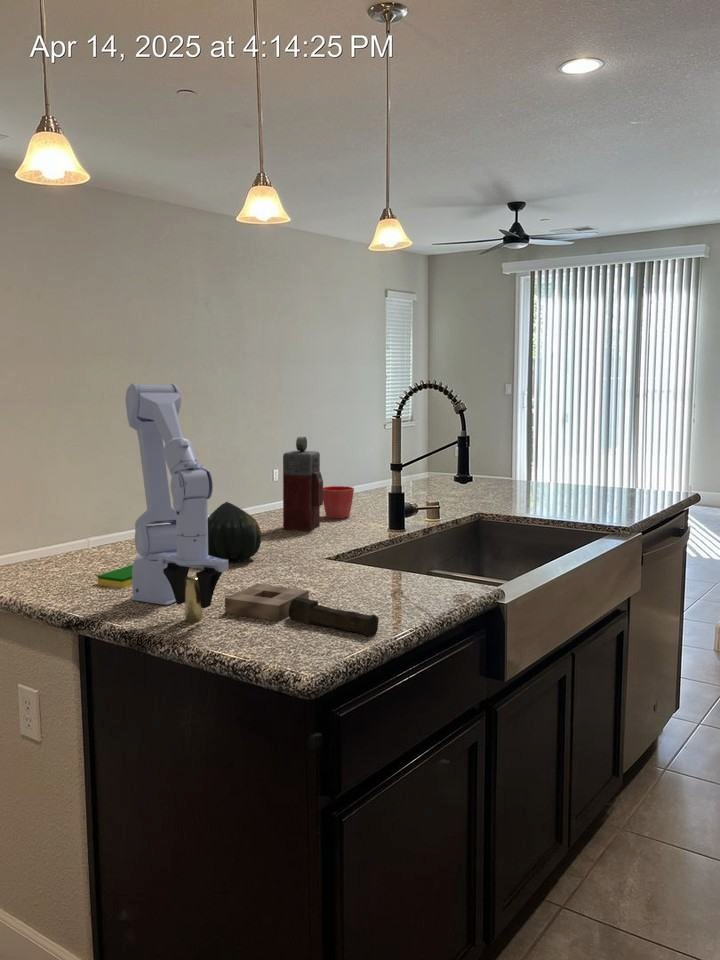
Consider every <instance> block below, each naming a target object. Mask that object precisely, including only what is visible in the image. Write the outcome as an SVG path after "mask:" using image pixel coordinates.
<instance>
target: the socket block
mask: <svg viewBox="0 0 720 960" xmlns="http://www.w3.org/2000/svg"><path fill="white" fill-rule="evenodd" d="M309 595H310V591H309V589H308V590H306V589H298V588H291V587H284V586H277V585H269V584H260V583H257V584H254V585H252V586H249V587H247V588H245V589H242V590H241V591H238V592H235V593H234V594H231V595H229V596H226V597H225V598H224V613H225V614H228V615H236V616H242V617H248V618H254V619H255V618H256V619H261V620H267V621H275V622H281V621H282V620H285V619H286V618H288V617H289V606H290V604H291V601H292V600H293V599H295V598H296V597H299V598H306V599H309V597H310V596H309ZM309 600H310V599H309Z"/></svg>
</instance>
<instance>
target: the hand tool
mask: <svg viewBox="0 0 720 960" xmlns="http://www.w3.org/2000/svg"><path fill="white" fill-rule="evenodd" d="M288 617H289V619H291V620H293V621H296V622H299V623H301V624H306V625H308V626H309V625H315V624H317V625H322V626H326V627H332V628H335V629H340V630H343V631H349V632H352V633H356V634H363V635H365V637H366V638H368V639H369V638H371V637H373V636H375V635H376V634H377V632H378V629H379V628H378V627H379V622H380V621H379V616H377V615H376V614H370V615H369V614H363V613H360V612H356V611H351V610H350V611H349V610H348V611H346V610H342V609H338V608H333V607H328V606H324V605H320V604H319V601H318V600H313V599H312V600H311V599H306V598H299V597H296V598H295V599H293V600H292V601H291V604H290V606H289V616H288Z"/></svg>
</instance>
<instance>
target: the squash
mask: <svg viewBox="0 0 720 960" xmlns="http://www.w3.org/2000/svg"><path fill="white" fill-rule="evenodd" d="M261 542H262V531H261V528H260V525H259V523H258V521H257V520H256V519H255V518H254V517H253V516H252V515H251V514H249V513H248V512H246V511H245V510H243V509H241V508H240V507H238V506H237V505H235V504H232V503H231V502H229V501H225V502H224V503H222V504H220V505H219V506H218V507H217V508H215V510H214V511H212V513H210V515H209V516H208V555H209V556H213V557H216V558H220V559H225V560H229V559H230V558H231V559H235V560H236V561H239V562H242V563H243V562H246V561H248V560H249V559H251V558H252V557H254V556H255V555H256V554H257V552H259V549H260V547H261Z"/></svg>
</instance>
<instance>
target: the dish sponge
mask: <svg viewBox="0 0 720 960" xmlns="http://www.w3.org/2000/svg"><path fill="white" fill-rule="evenodd" d="M132 567H133V564H131V565H126V566H124V567H121V568H118V569H115V570H112V571H108V572H105V573H102V574H98V575H97V585H98V586H104V587H112V588H119V589H125V588H127V587H129V586H132Z"/></svg>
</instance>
